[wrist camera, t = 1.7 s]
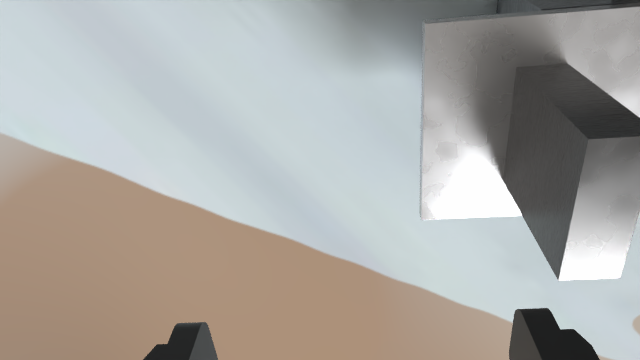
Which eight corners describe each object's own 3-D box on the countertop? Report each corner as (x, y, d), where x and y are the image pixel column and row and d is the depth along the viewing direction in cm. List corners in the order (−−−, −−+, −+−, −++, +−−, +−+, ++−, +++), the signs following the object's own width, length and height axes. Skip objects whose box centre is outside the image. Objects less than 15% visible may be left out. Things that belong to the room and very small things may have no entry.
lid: (422, 20, 29) (461, 81, 20) (668, 0, 28) (835, 54, 18) (419, 212, 36) (446, 325, 27) (615, 202, 35) (716, 317, 25)
